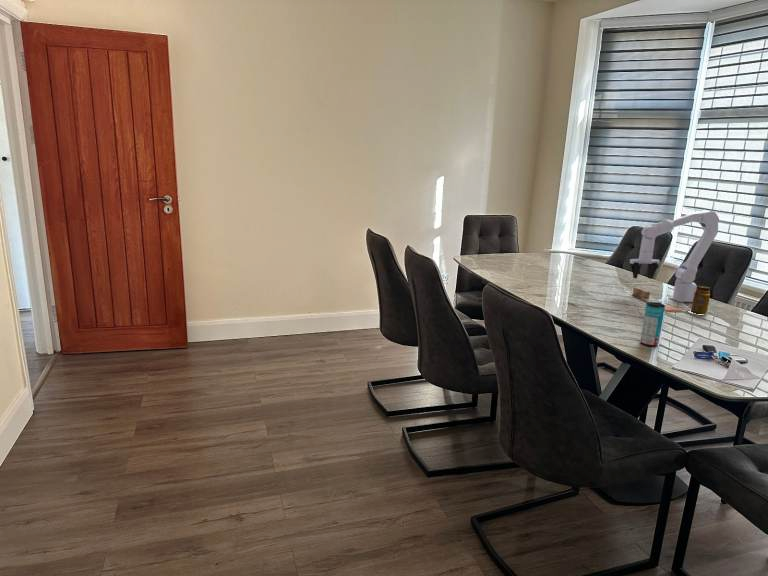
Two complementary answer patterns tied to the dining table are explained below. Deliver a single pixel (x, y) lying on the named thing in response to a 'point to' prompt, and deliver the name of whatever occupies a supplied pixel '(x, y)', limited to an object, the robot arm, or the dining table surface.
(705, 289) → the condiment
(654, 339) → the beverage can
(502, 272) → the dining table surface
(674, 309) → the tile
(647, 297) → the tall wooden plank
